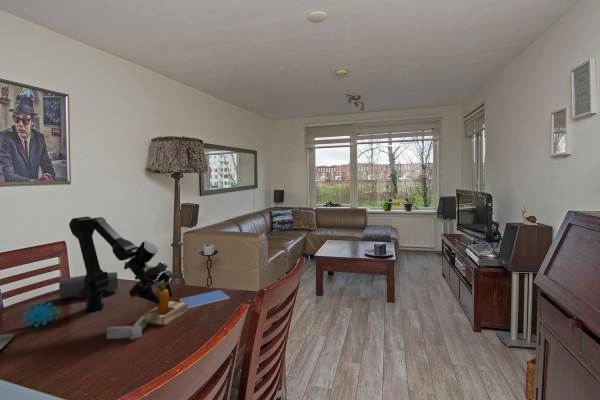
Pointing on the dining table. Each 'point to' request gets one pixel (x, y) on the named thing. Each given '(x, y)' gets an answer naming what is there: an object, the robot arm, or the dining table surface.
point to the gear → (40, 314)
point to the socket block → (173, 312)
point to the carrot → (162, 298)
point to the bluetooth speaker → (82, 285)
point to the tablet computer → (204, 298)
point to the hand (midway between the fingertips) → (165, 299)
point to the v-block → (127, 330)
